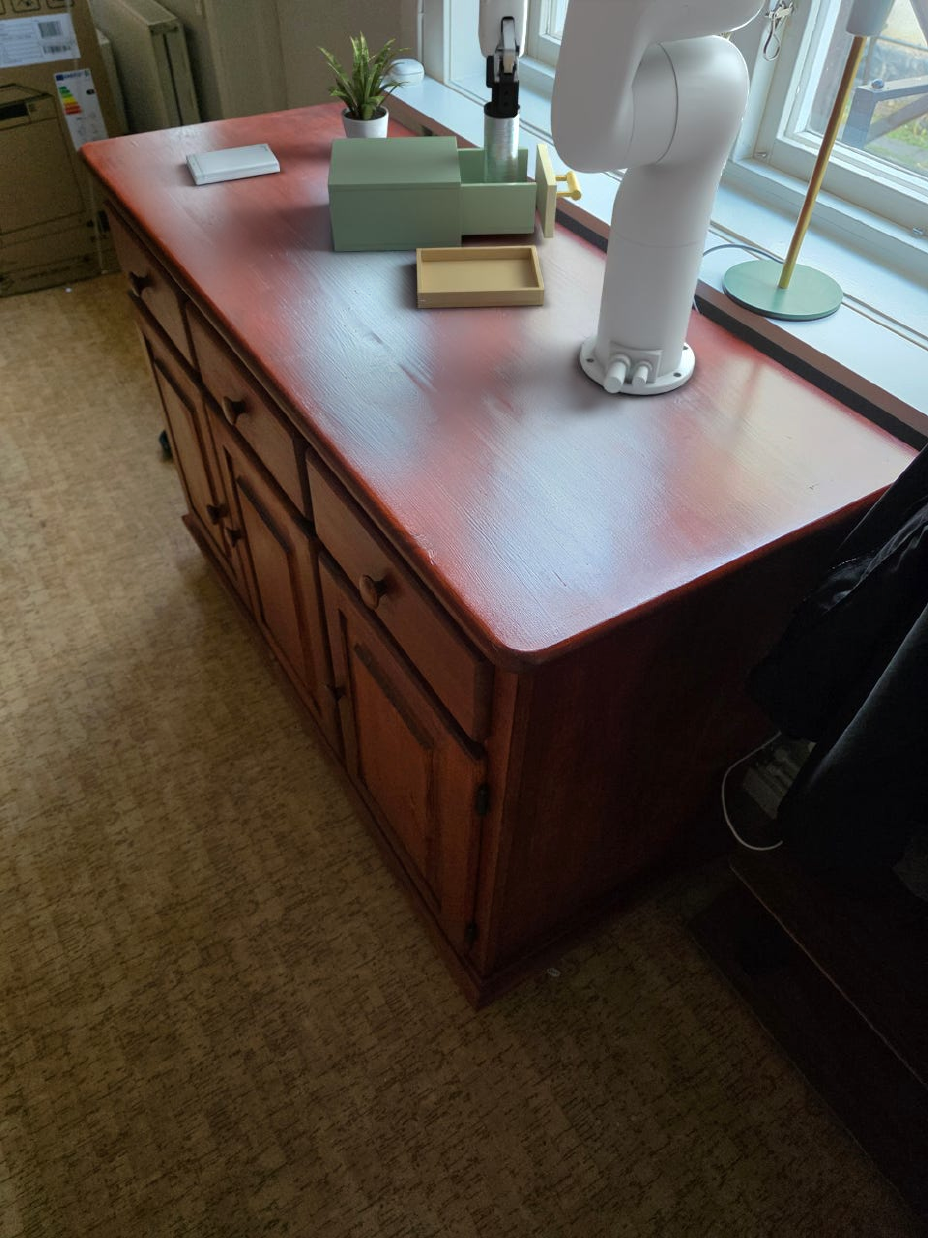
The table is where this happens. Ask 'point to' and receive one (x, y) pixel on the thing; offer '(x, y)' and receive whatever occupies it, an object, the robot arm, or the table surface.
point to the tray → (478, 277)
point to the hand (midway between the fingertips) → (501, 101)
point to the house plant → (364, 92)
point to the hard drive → (232, 163)
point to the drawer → (510, 195)
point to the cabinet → (395, 193)
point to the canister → (500, 147)
